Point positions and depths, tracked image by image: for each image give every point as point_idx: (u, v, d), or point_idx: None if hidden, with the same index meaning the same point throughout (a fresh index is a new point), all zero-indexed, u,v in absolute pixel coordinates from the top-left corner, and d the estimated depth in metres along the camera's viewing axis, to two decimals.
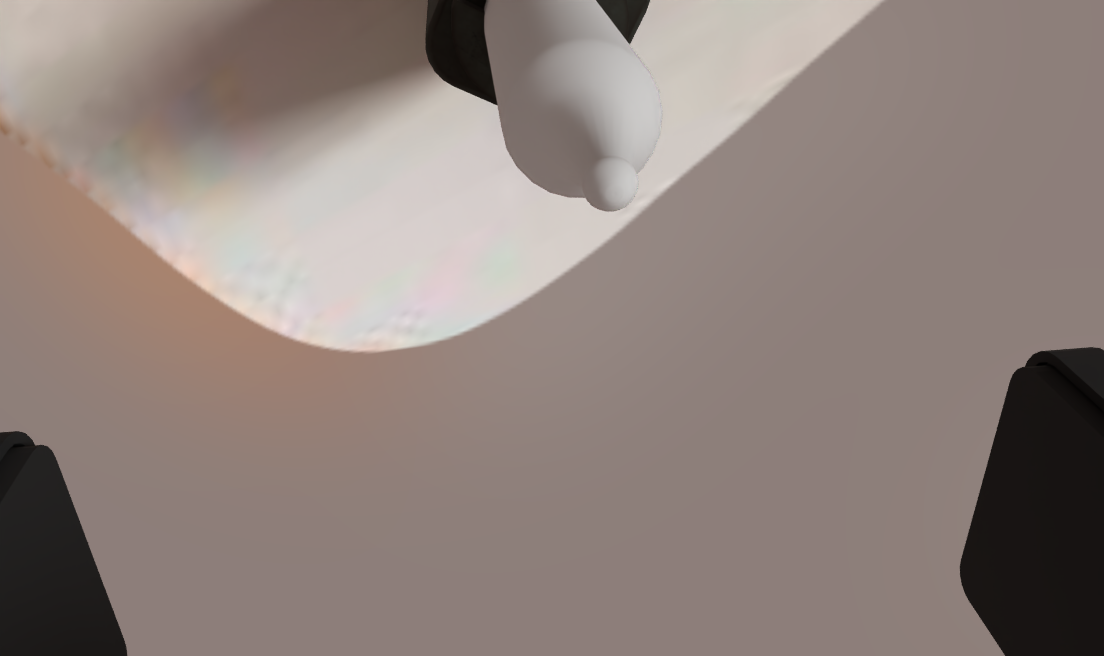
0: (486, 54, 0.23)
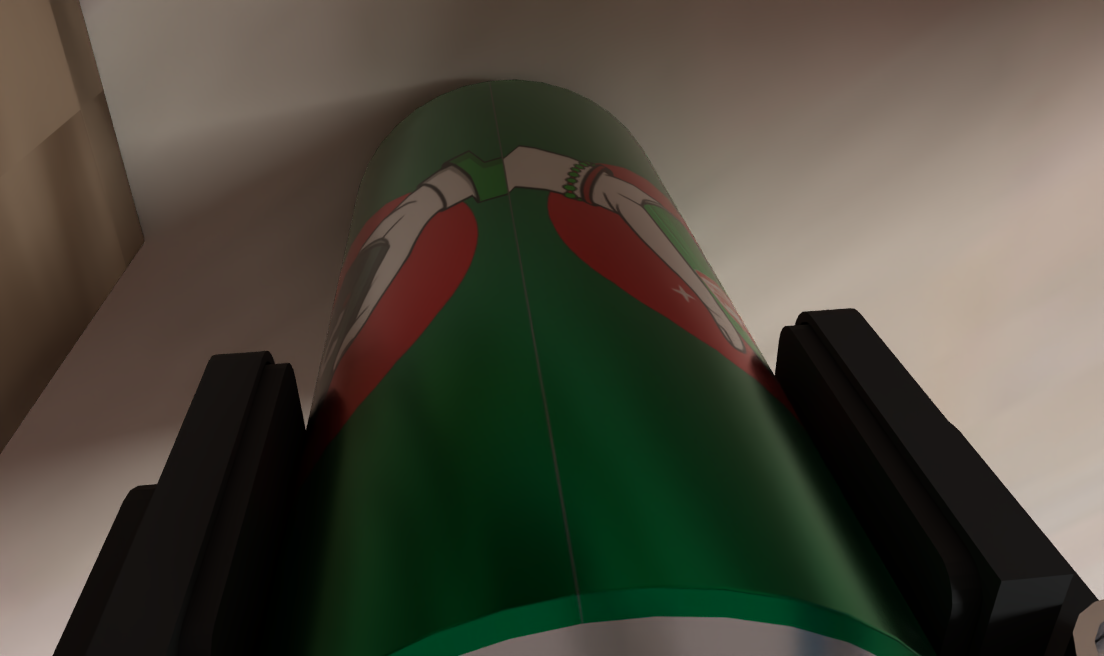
0: None
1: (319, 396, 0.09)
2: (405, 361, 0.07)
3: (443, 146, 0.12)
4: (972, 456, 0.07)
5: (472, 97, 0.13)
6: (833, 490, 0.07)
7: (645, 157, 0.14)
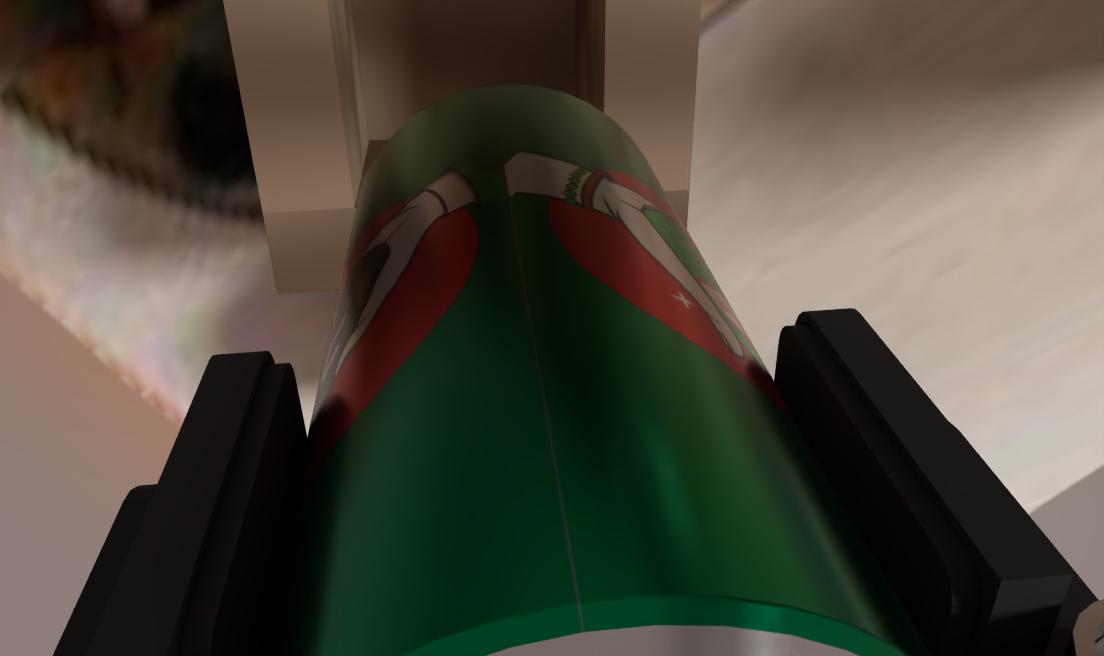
0: None
1: (321, 402, 0.09)
2: (406, 369, 0.07)
3: (443, 151, 0.12)
4: (972, 456, 0.07)
5: (473, 102, 0.13)
6: (832, 497, 0.07)
7: (645, 161, 0.14)
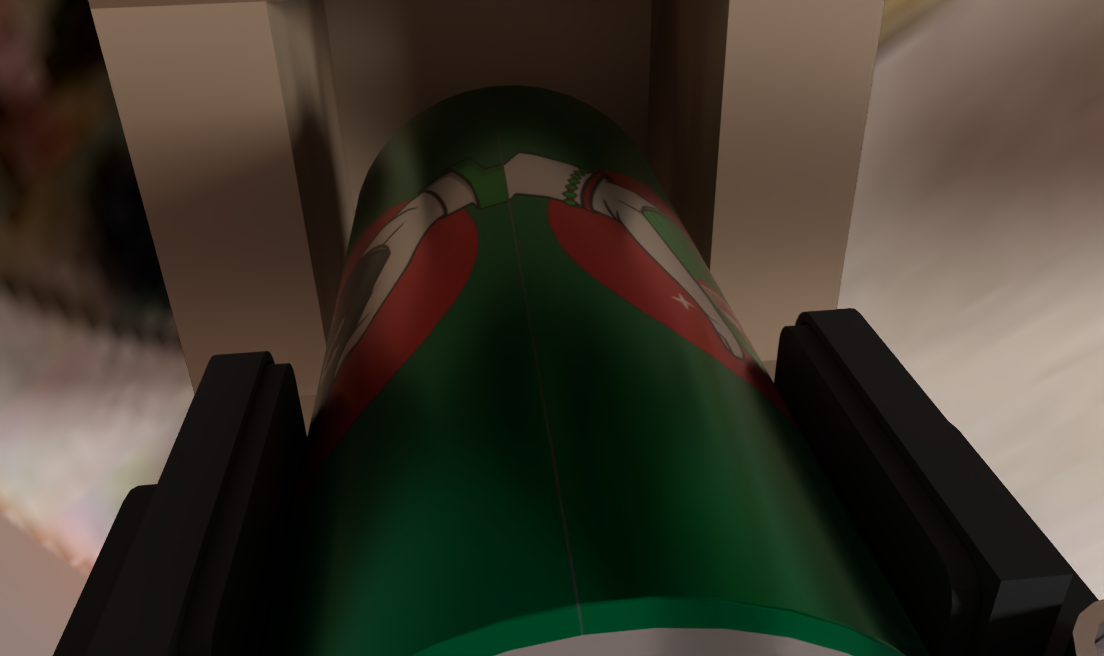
0: None
1: (320, 403, 0.09)
2: (406, 370, 0.07)
3: (443, 152, 0.12)
4: (972, 456, 0.07)
5: (472, 103, 0.13)
6: (832, 499, 0.07)
7: (645, 162, 0.14)
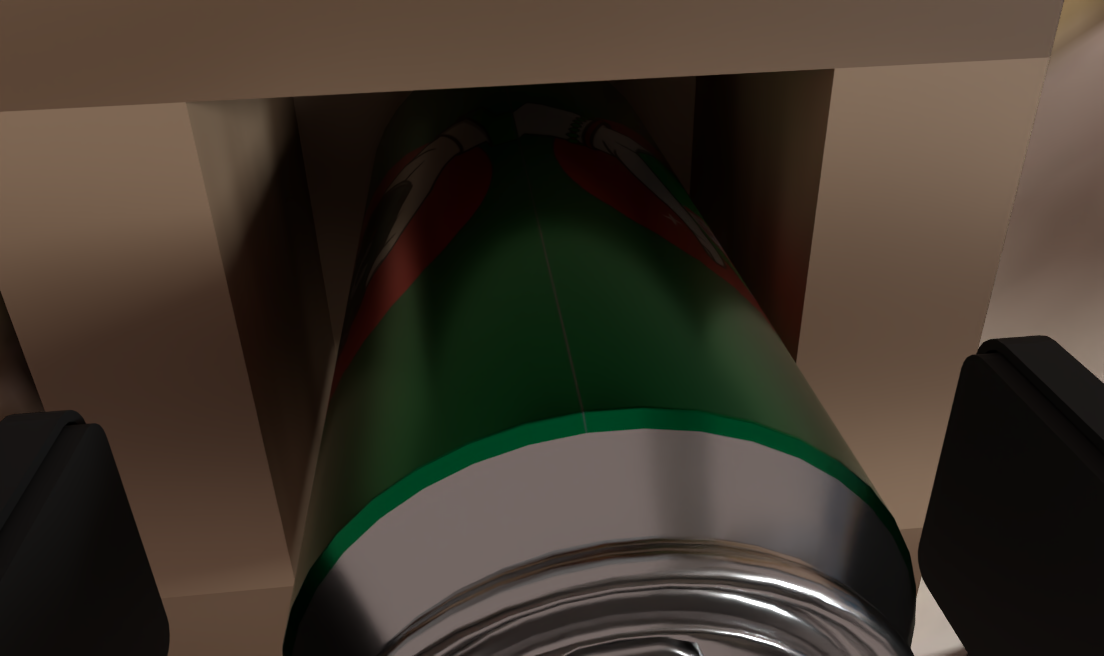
0: None
1: (353, 309, 0.10)
2: (432, 267, 0.09)
3: (458, 104, 0.13)
4: None
5: None
6: (796, 370, 0.08)
7: (640, 121, 0.15)
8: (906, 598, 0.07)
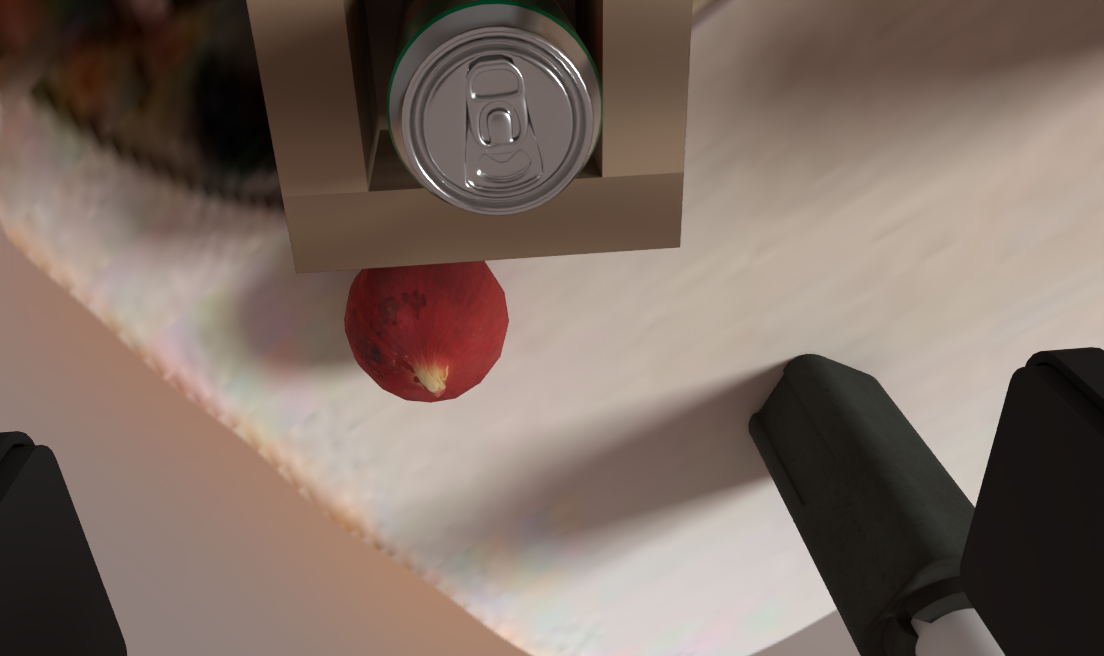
0: None
1: (402, 24, 0.24)
2: None
3: None
4: None
5: None
6: (568, 21, 0.22)
7: None
8: (591, 77, 0.21)
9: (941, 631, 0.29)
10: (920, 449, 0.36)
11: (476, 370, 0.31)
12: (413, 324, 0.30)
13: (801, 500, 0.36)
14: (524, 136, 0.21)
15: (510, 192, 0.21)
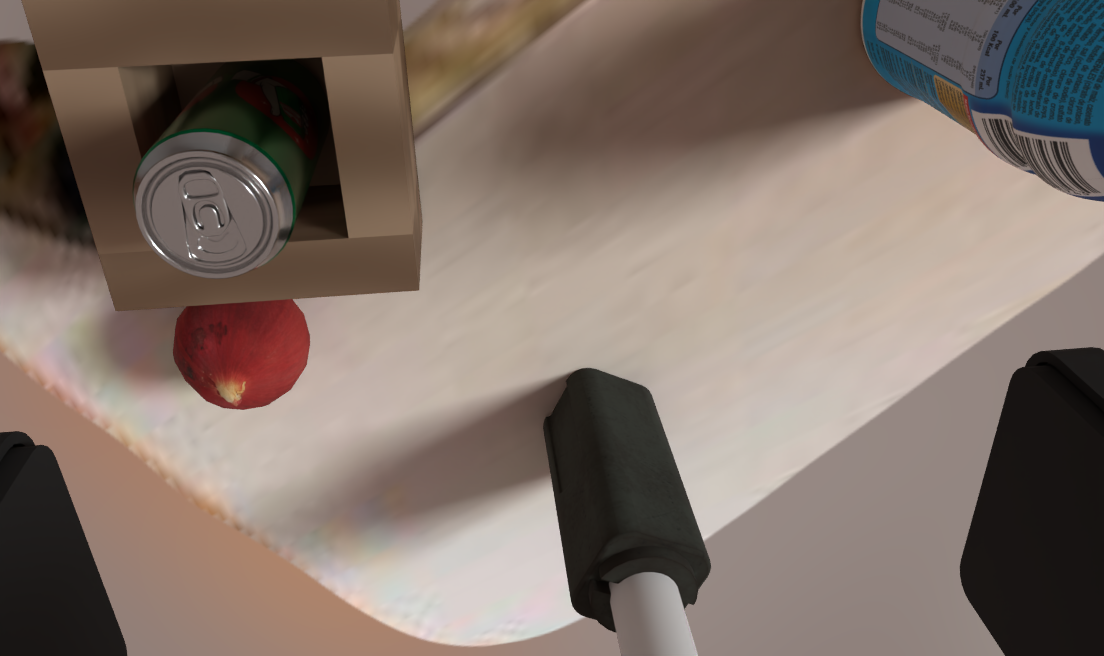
0: (610, 612, 0.38)
1: None
2: (183, 112, 0.31)
3: (223, 71, 0.35)
4: None
5: None
6: (274, 136, 0.30)
7: (309, 79, 0.37)
8: (279, 181, 0.29)
9: (622, 589, 0.37)
10: (654, 447, 0.44)
11: (274, 384, 0.40)
12: (216, 349, 0.38)
13: (560, 489, 0.44)
14: (229, 224, 0.29)
15: (223, 262, 0.29)
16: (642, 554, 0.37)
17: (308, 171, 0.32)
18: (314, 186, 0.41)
